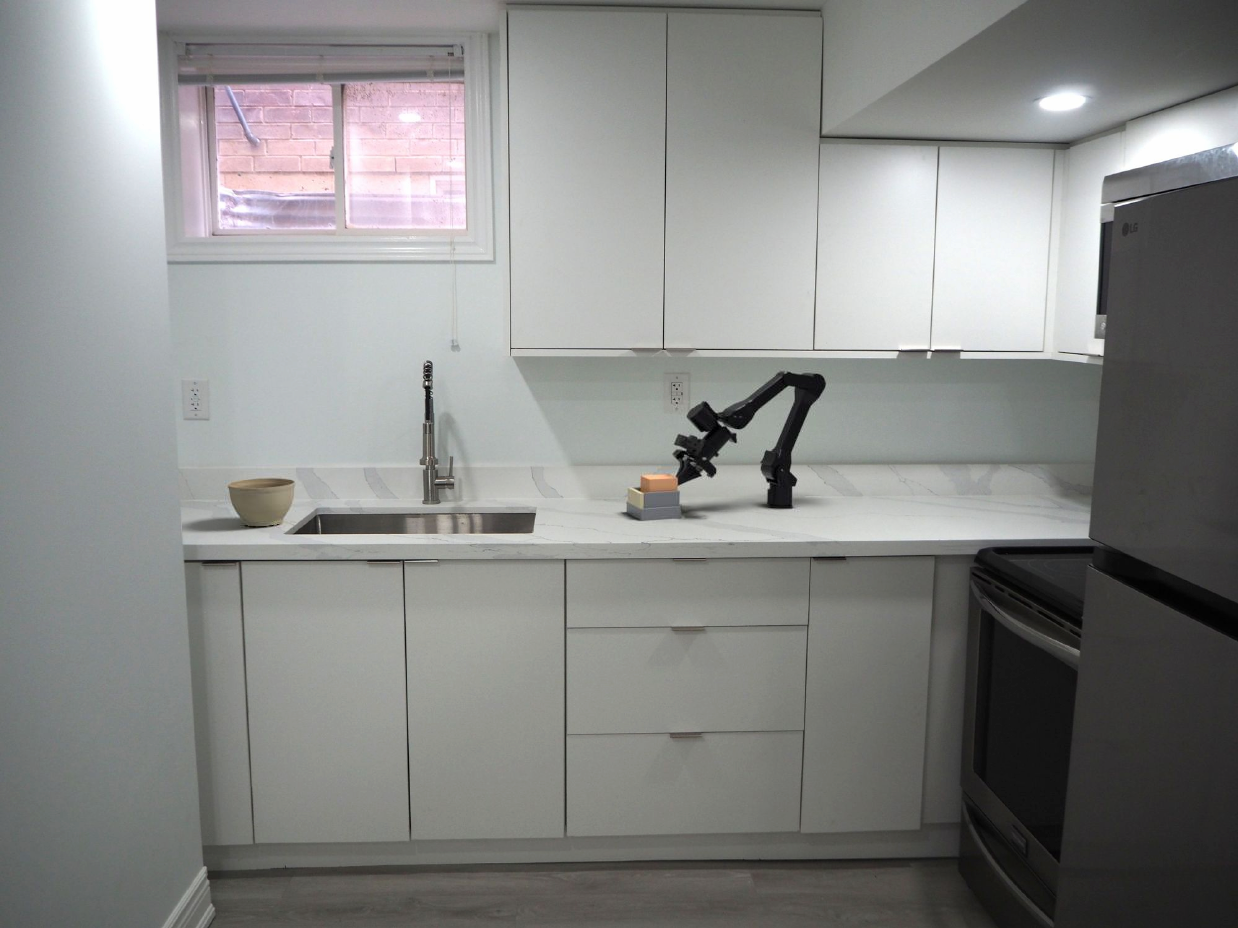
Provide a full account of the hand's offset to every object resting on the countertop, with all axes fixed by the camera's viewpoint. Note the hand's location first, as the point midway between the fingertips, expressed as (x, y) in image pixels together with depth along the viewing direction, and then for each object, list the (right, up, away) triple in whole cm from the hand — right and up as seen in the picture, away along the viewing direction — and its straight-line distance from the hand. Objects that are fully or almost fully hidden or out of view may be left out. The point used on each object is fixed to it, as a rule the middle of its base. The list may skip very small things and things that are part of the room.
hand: (673, 485), depth 253 cm
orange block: (-4, -4, -1) cm, 6 cm away
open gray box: (-5, -8, -1) cm, 9 cm away
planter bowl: (-107, -10, -12) cm, 108 cm away
